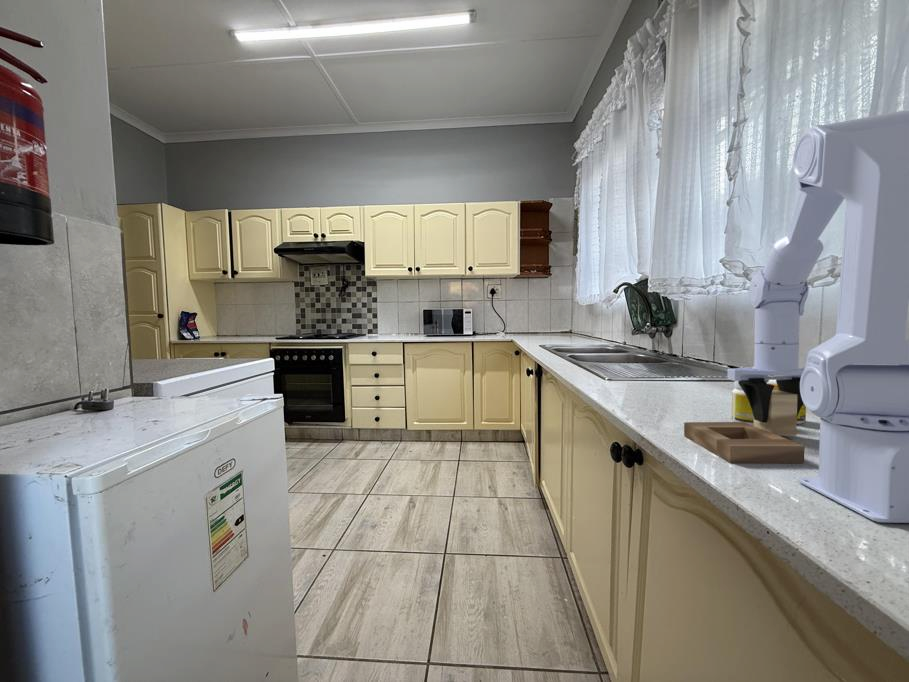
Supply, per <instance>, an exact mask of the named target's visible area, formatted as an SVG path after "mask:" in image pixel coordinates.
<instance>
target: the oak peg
mask: <svg viewBox="0 0 909 682" xmlns="http://www.w3.org/2000/svg"><path fill="white" fill-rule="evenodd" d="M754 426H755V427H758V428H760V429H763V430H765V431H768V432H770V433H773V434H775V435H778V436H780V437H783V436H793V437H794V436H795V437H796V436H797V434H798V433H797V431H798V429H797V426H798V424H797V394H793V393H788V392H784V391H780V390H773V391H772V394H771V397H770V401H769V414H768V420H767V422H760V421H757V420H754Z"/></svg>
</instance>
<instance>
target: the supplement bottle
mask: <svg viewBox="0 0 909 682" xmlns="http://www.w3.org/2000/svg"><path fill="white" fill-rule="evenodd" d="M731 422H745V423H748V424H750V425H753V426H754V416H753V412H752V409H751V406H750V403H749V401H748V398H747V396H746V394H745V393H744V391H743V389H742V388H741V386H740V385H739V383H738V381H734V388H733V390H732V391H731Z"/></svg>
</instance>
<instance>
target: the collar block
mask: <svg viewBox="0 0 909 682" xmlns="http://www.w3.org/2000/svg"><path fill="white" fill-rule="evenodd" d="M683 435H684V437H685V438H687V439H688V440H690V441H691V442H694V443H695V444H697V445H699V447H701V448H704V449H706V450H707V451H709V452H710V453H712V454H714V455H715V456H717V457H719V458H720V459H722V460H724V461H726V462H728V463H729V464H805V453H806V452H805V445H803V444H800V443H798V442H796V441H793V440H790V439H788V438H785V437H783V436H778V435H775V434H773V433H770V432H768V431H765V430H763V429H760V428H758V427H755V426H753V425H750V424H748V423H745V422H733V421H704V422H703V421H701V422H700V421H695V422H694V421H691V422H688V421H687V422H686V421H684V422H683Z"/></svg>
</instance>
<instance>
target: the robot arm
mask: <svg viewBox="0 0 909 682" xmlns="http://www.w3.org/2000/svg"><path fill="white" fill-rule="evenodd" d="M793 152H794V153H793V157H792V172H793V175H794V179H795V183H796V184H795V185H796V186H797V188H798V189H799V191H800V192H799V194H798V198H797V202H796V204H795V208H794V211H793V215H792V218H791V221H790V224H789V228H788V232H787V234H786V235H783V236H781V237H779V238H777V240H775V242H773V246H772V248H771V251H770V254H769V255H768V258H767V260H766V262H765V265H764V268H762V269H760V270H759V269H758V271H757V273H755V274H753V275H752V277H751V281H750V283H749V287H748V288H749V289H748V297H749V302H750V304H751V307H753V308H754V347H753V348H754V351H753V352H754V353H753V354H754V356H753V357H754V358H753V362H754V363H753V366H748V367H736V368H734V367H733V368H727V376H726V377H727V378H726V379H727V380H729V381H733V382H735V381H738V383H739V385H740V386H741V388H742V389H743V391H744V393H745V394H746V396H747V398H748V401H749V403H750V406H751V409H752V412H753V416H754V420H757V421H760V422H767V420H768V414H769V401H770V397H771V394H772V391H773V389H774V387H775V386H774V385H771V384H768V381H769V380H776V382H777V385H778V389H779V390H780V391H784V392H788V393H793V394H797V417H798V414H799V412H800V409H801V407H802V405H803V403H804V405H805V406H806V409H807V410H808V411H810V412H811V413H812V414H813V415H814V416H816V417H818V418H819V420H820V421H819V450H818V452H819V455H818V477H798V478H797V482H799V483H800V484H802V485H803V486H806V487H808V488H809V489H812V490H813V491H815V492H818V493H819V494H821V495H823V496H825V497H828V498H829V499H831V500H832V501H835V502H837V503H838V504H840V505H842V506H843V507H847V508H848V509H850V510H852V511H855V512H856V513H857V514H860V515H862V516H863V517H866V518H868V519H870V520H871V521H873V522H877V523H889V524H890V523H896V524H898V523H900V524H903V523H904V524H909V338H908V337H907V336H906V331H907V323H908V312H909V108H908V109H905V110H899V111H893V112H889V113H884V114H883V113H882V114H878V115H872V116H865V117H861V118H854V119H850V120H843V121H839V122H833V123H827V124H820V123H818V124H815V125H812V126H810V127H809V128H808V129H806V131H805V132H804V133H803V134H802V135H801V136H800V138H799V139H798V141H797V143H796V145H795V149H794V151H793ZM844 200H845V208H844V209H845V212H844V226H843V237H842V238H843V239H842V251H841V262H840V263H841V264H840V277H839V289H838V290H839V291H838V300H837V302H838V303H837V315H836V329H835V334H834V335H833V336H832V337H831V338H829V339H828V340H826V341H824V342H822V343H820V344H819V345H817V346H815V347H813V348H812V349H810V350H809V351H808V353H807V356H806V361H805V366H799V363H800V361H799V358H800V323H801V322H800V321H801V320H800V318H801V316H803V315H804V313H805V304H806V301H807V299H808V297H809V292H810V291H809V289H810V288H809V283H808V278H809V276H810V274H811V273H812V271H813V269H814V267H815V265H816V264H817V262H818V260H819V258H820V257H821V254H822V252H823V250H824V245H823V242H822V240H820V237H821V235H822V233H824V231H825V229H826V227H828V225H829V223H830V221H831V220H832V219H833V217H834V216H835V214H836V213H837V211H838V209H839V208H840V207H841V205H842V204H843V201H844ZM774 375H775V376H774ZM766 380H767V381H766Z"/></svg>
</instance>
